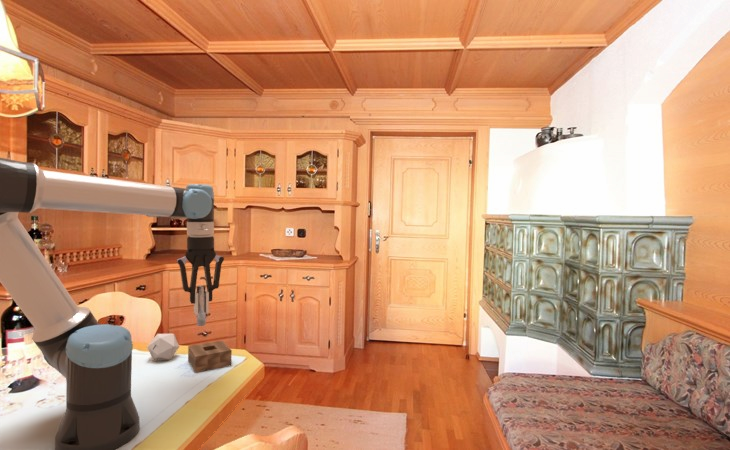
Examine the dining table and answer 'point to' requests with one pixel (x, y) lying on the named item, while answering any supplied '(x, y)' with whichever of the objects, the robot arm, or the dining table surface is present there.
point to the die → (163, 346)
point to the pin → (201, 306)
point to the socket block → (209, 356)
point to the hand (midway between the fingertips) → (201, 312)
